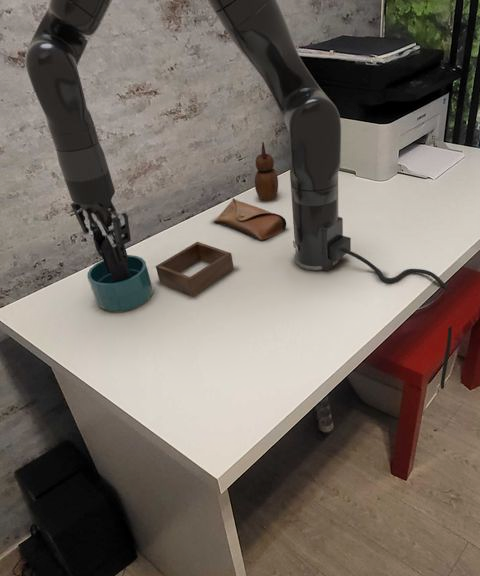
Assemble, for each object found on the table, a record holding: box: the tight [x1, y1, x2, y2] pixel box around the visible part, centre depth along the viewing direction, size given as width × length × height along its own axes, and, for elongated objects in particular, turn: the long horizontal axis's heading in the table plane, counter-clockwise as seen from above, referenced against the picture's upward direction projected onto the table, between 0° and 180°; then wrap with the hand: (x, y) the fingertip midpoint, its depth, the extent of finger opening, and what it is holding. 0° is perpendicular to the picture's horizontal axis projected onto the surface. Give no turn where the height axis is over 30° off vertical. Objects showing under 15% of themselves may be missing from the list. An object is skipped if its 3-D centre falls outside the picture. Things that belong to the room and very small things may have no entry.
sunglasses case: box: [213, 198, 287, 241], centre depth 127 cm, size 18×7×7 cm, turn 48°
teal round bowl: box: [87, 254, 154, 313], centre depth 105 cm, size 11×11×6 cm
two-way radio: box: [94, 227, 131, 283], centre depth 100 cm, size 6×4×15 cm
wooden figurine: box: [254, 141, 279, 201], centre depth 135 cm, size 7×6×15 cm
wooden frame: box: [155, 241, 235, 297], centre depth 110 cm, size 10×12×4 cm
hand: (113, 257), depth 101 cm, fingers closed on two-way radio, 5 cm apart
